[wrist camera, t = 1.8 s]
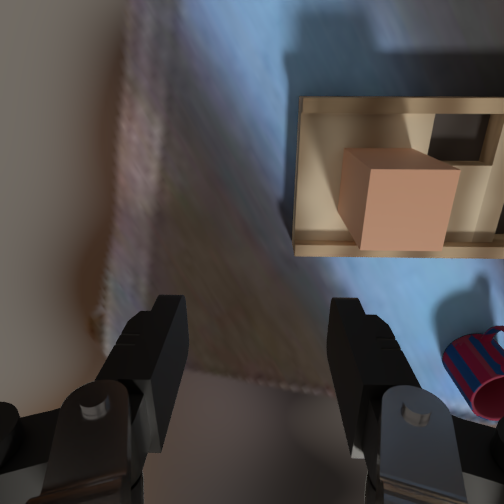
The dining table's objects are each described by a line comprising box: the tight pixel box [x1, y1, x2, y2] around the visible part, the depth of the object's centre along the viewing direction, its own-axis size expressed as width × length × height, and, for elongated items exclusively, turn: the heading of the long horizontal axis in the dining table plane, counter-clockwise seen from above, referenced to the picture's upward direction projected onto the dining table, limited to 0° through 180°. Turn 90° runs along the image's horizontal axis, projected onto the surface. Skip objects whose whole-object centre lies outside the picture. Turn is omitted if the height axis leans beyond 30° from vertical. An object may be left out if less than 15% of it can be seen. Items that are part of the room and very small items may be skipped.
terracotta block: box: [338, 148, 461, 251], centre depth 30 cm, size 6×6×9 cm
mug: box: [443, 326, 504, 421], centre depth 42 cm, size 7×10×7 cm
